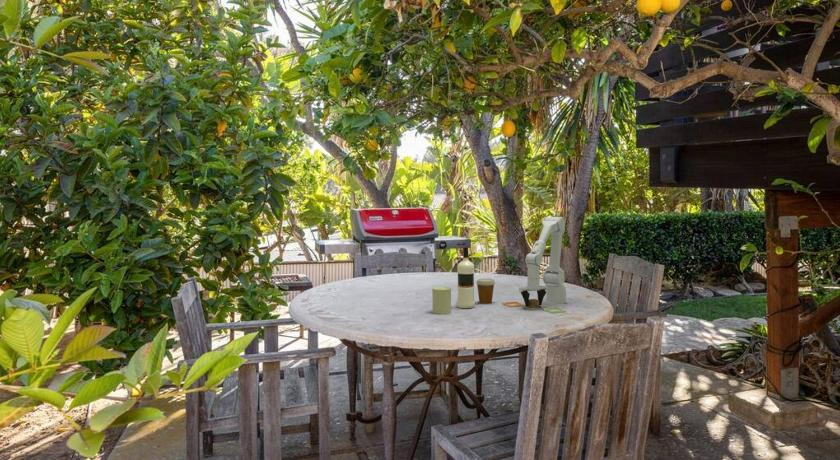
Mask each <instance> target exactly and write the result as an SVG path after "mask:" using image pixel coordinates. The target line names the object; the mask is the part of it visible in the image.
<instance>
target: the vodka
mask: <svg viewBox="0 0 840 460" xmlns="http://www.w3.org/2000/svg"><path fill="white" fill-rule="evenodd" d="M462 250H463V251H462V260H461V261H460V262H459V263H458V264H457V266H456V269H457V272H456V273H457V298H456V307H458V308H459V309H462V310H463V309H467V310H468V309H473V308H475V307H476V300H475V265H474V263H473V262H472V261H470V260H469V247H468V246H463V247H462Z"/></svg>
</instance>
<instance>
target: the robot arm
mask: <svg viewBox="0 0 840 460" xmlns="http://www.w3.org/2000/svg"><path fill="white" fill-rule="evenodd" d="M541 223H542V230H541V232H540V235H539V238H538V240H536V241H535V242H534V244H533V246H532V248H531V249H530V252H529V253H528V254H526V256H525V259H524V261H525V264H526V265H525V268H526V269H527V286H521V287H519V288H518V289H519V290H518V291H519V292H520V294H521V297H522V299H523V301H524V305H525V306H527V307H528V306H529V299H530V296H531V295H530V294H531V293H530V292H536V294H537V300H539V305H540V306H542V304H543V302H544V303H547V304H550V305H556V304H567V289H566V286H565V285H564V284H565V280H566V279H565V270H564V269H563V268H562V267H561V266H560V264H561V255H562V243H563V235H564V233H565V231H566V219H565V218H564V217H563V216H544V217H543V219H542V222H541ZM550 236H551V244H550V257H549V263H548V264H549V265H548V266H547V267H546V268H544V271H543V275H542V281H543V283H544V285H540V271H541V270H540V268H541V267H540V265H542V262H543V256H544V255H543V254H544V252H545V250H546V248H547V245H546V243H547V241H548V239H549V237H550ZM545 297H546V299H545V300H543V299H544V298H545Z"/></svg>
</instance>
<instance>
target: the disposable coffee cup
mask: <svg viewBox="0 0 840 460" xmlns="http://www.w3.org/2000/svg"><path fill="white" fill-rule="evenodd" d="M475 283H476V286H477V287H476V288H477V294H478V295H477V296H478V302H479V303H478V304H483V305H485V304H486V305H488V304H492V302H493V295H494V289H495V283H496V282H495V280H494V279H493V278H477V280H476V282H475Z"/></svg>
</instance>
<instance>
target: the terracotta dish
mask: <svg viewBox="0 0 840 460" xmlns="http://www.w3.org/2000/svg"><path fill="white" fill-rule="evenodd" d="M501 303H502V305H503V306H506V307H508V308H518V307H521V308H522V305H525V303H522V302H519V301H507V302H505V301H503V302H501Z"/></svg>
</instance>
